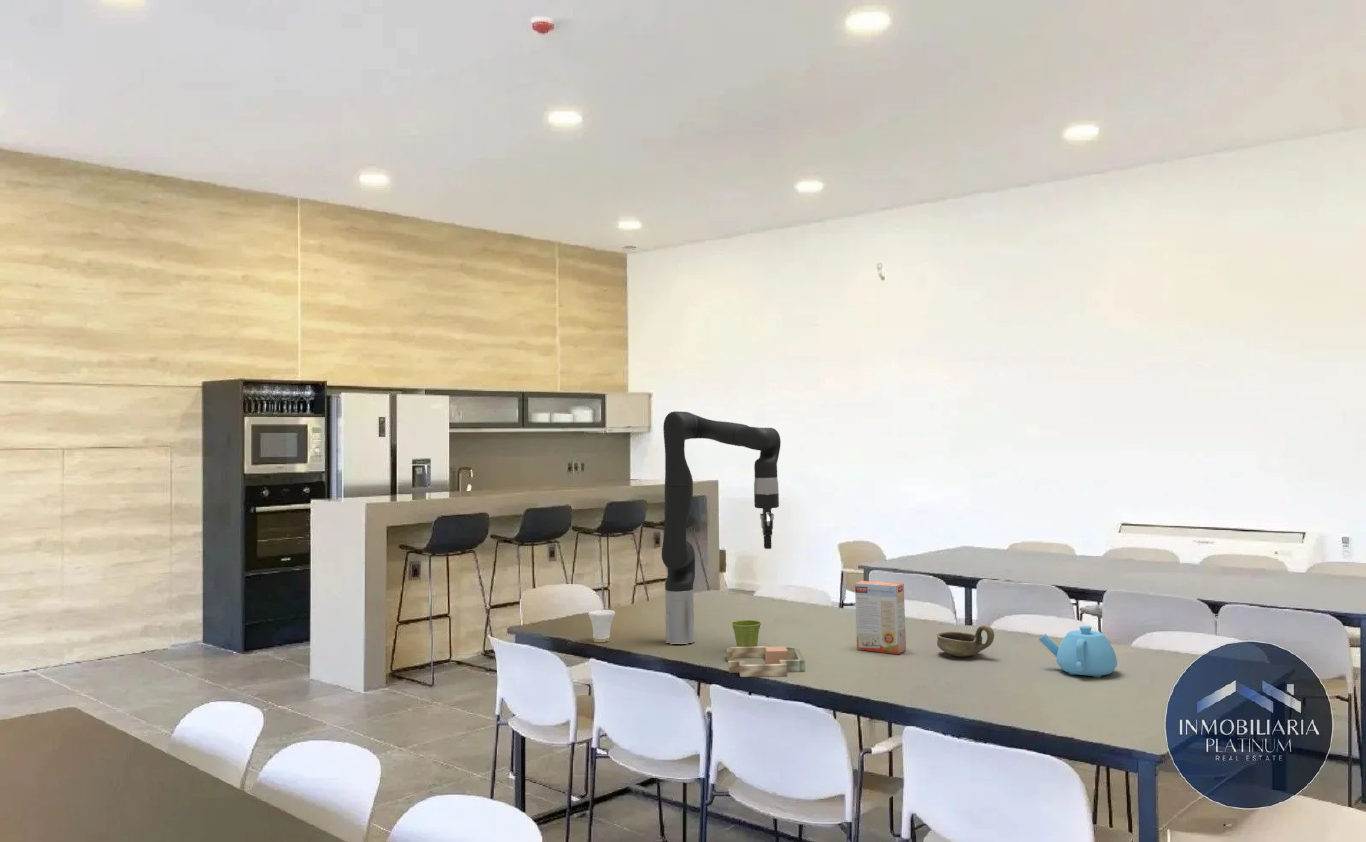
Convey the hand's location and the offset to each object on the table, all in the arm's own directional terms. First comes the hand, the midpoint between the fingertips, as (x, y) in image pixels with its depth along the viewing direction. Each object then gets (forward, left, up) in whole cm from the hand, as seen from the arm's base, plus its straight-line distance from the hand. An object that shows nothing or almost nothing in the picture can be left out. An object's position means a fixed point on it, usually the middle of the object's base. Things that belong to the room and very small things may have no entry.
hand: (767, 548), depth 301 cm
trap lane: (-3, -17, -32) cm, 36 cm away
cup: (-54, +22, -32) cm, 67 cm away
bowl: (+57, -10, -32) cm, 66 cm away
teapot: (+82, -31, -32) cm, 93 cm away
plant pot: (-7, +4, -32) cm, 33 cm away
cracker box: (+34, 0, -32) cm, 47 cm away
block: (+1, -17, -32) cm, 36 cm away
